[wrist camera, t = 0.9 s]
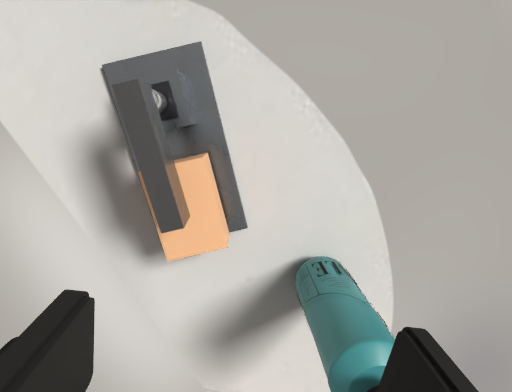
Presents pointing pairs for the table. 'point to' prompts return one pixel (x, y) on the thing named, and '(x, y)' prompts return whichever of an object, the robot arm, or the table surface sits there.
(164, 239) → the cover
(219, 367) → the table surface
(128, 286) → the table surface
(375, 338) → the beverage bottle
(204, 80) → the latch base
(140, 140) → the t key
